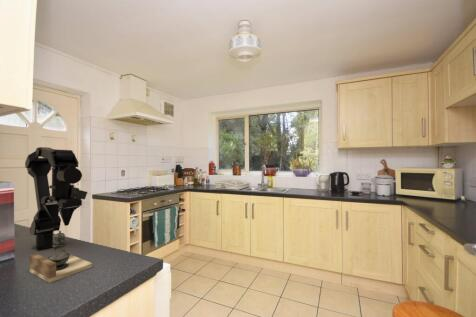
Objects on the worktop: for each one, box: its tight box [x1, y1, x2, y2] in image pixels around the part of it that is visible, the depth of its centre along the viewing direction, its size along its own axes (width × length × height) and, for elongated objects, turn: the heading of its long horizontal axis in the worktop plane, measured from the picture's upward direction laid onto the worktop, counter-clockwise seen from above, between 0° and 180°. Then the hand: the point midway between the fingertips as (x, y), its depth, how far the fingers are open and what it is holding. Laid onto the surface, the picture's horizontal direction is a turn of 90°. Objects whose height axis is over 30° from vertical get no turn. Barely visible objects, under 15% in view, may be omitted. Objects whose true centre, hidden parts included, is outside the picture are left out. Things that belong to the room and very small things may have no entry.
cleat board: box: [28, 253, 94, 284], centre depth 75 cm, size 14×12×5 cm
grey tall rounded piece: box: [47, 229, 71, 271], centre depth 74 cm, size 6×6×12 cm
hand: (60, 223), depth 86 cm, fingers open, 9 cm apart
